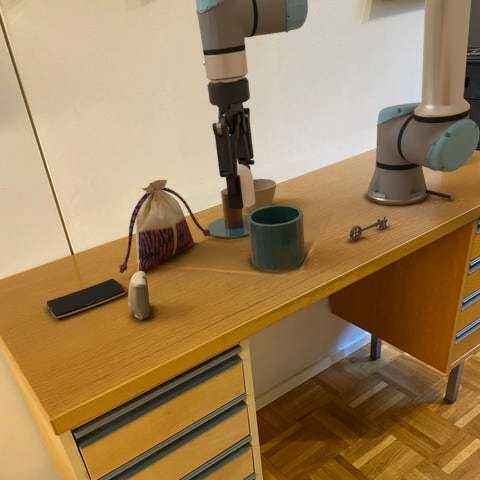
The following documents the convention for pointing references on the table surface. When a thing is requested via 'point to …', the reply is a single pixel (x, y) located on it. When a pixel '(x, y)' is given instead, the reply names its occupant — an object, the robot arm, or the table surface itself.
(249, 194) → the capsule
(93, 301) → the smartphone
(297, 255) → the pot
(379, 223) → the key
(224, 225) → the lid
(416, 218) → the table surface
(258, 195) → the flower pot
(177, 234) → the pouch
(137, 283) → the cream tapered case
